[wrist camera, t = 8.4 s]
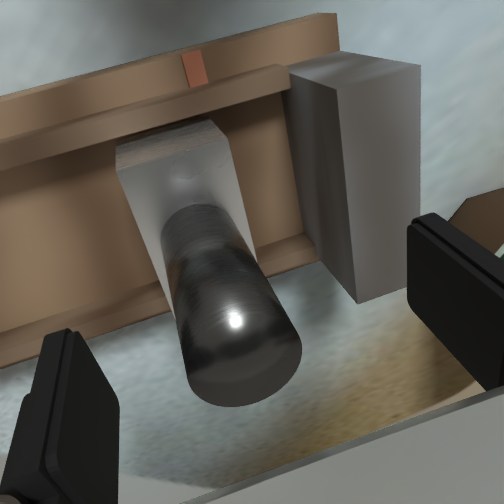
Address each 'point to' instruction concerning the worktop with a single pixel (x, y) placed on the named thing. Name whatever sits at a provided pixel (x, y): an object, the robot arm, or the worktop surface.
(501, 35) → the worktop surface
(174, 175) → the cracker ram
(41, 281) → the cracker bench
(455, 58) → the worktop surface
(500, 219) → the beer bottle
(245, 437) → the worktop surface
